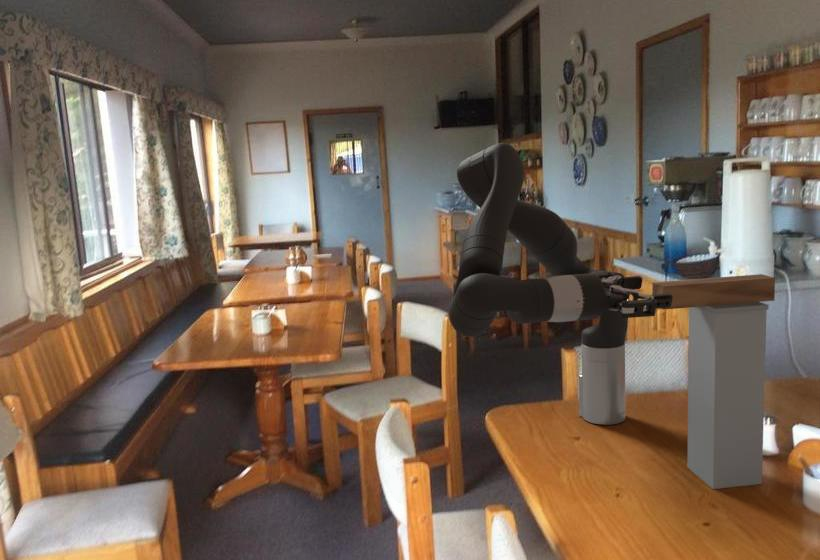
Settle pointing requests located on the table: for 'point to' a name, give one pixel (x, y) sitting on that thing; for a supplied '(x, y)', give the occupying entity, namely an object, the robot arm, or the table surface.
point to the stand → (726, 393)
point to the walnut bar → (717, 290)
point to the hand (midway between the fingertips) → (655, 291)
